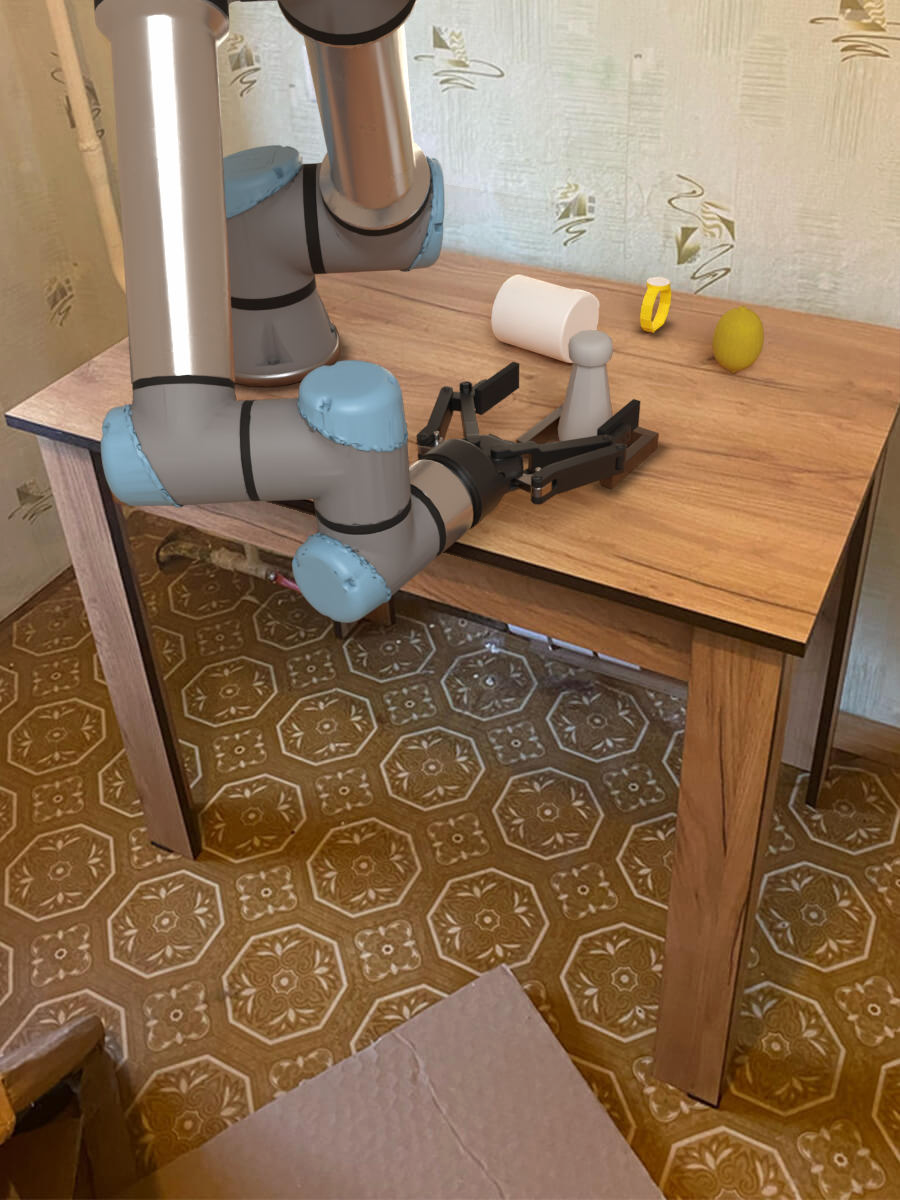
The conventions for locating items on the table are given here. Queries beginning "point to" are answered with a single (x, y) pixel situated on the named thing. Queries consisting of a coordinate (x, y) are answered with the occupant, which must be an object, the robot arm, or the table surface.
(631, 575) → the table surface
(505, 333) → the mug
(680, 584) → the table surface
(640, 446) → the walnut stop
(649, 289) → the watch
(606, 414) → the salt shaker
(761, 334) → the lemon
